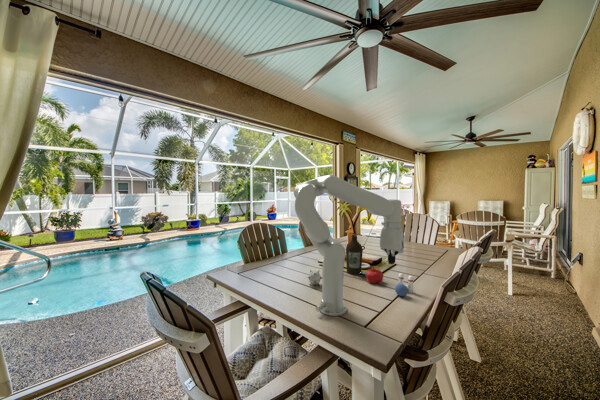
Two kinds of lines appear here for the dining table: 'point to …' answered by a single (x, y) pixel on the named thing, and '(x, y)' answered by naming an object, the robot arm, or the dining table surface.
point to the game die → (314, 277)
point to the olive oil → (354, 256)
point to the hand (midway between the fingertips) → (391, 263)
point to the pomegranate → (374, 276)
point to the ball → (401, 290)
